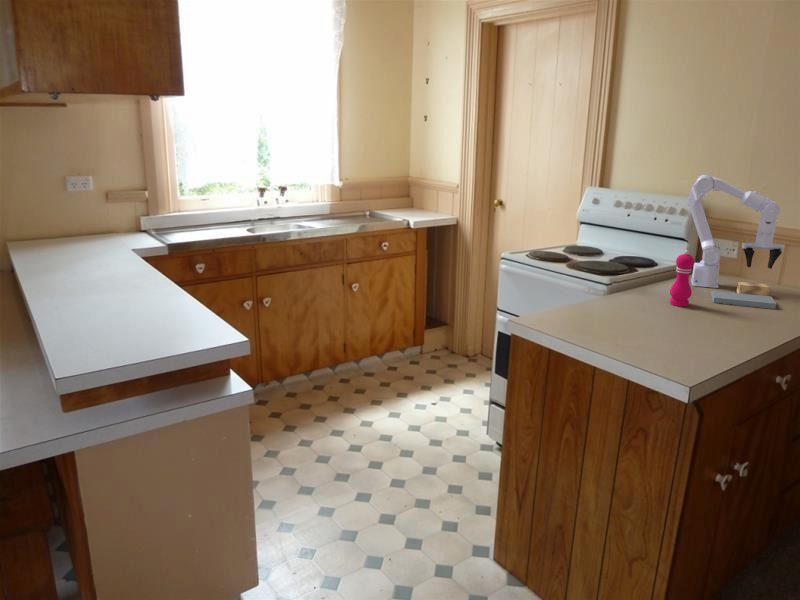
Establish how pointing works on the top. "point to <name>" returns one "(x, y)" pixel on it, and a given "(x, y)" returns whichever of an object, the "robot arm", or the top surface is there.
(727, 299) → the slate board
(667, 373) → the top surface
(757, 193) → the robot arm
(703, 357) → the top surface
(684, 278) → the pepper mill
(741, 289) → the oak bar
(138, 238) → the top surface
